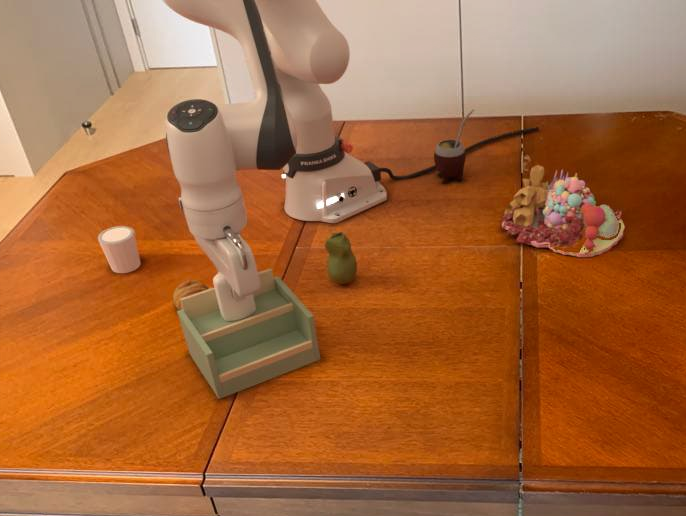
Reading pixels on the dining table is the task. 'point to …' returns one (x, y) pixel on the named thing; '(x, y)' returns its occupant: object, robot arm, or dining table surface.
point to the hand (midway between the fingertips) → (234, 291)
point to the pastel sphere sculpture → (560, 215)
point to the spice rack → (249, 337)
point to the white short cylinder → (120, 248)
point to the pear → (340, 259)
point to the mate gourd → (451, 157)
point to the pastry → (187, 291)
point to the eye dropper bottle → (231, 301)
